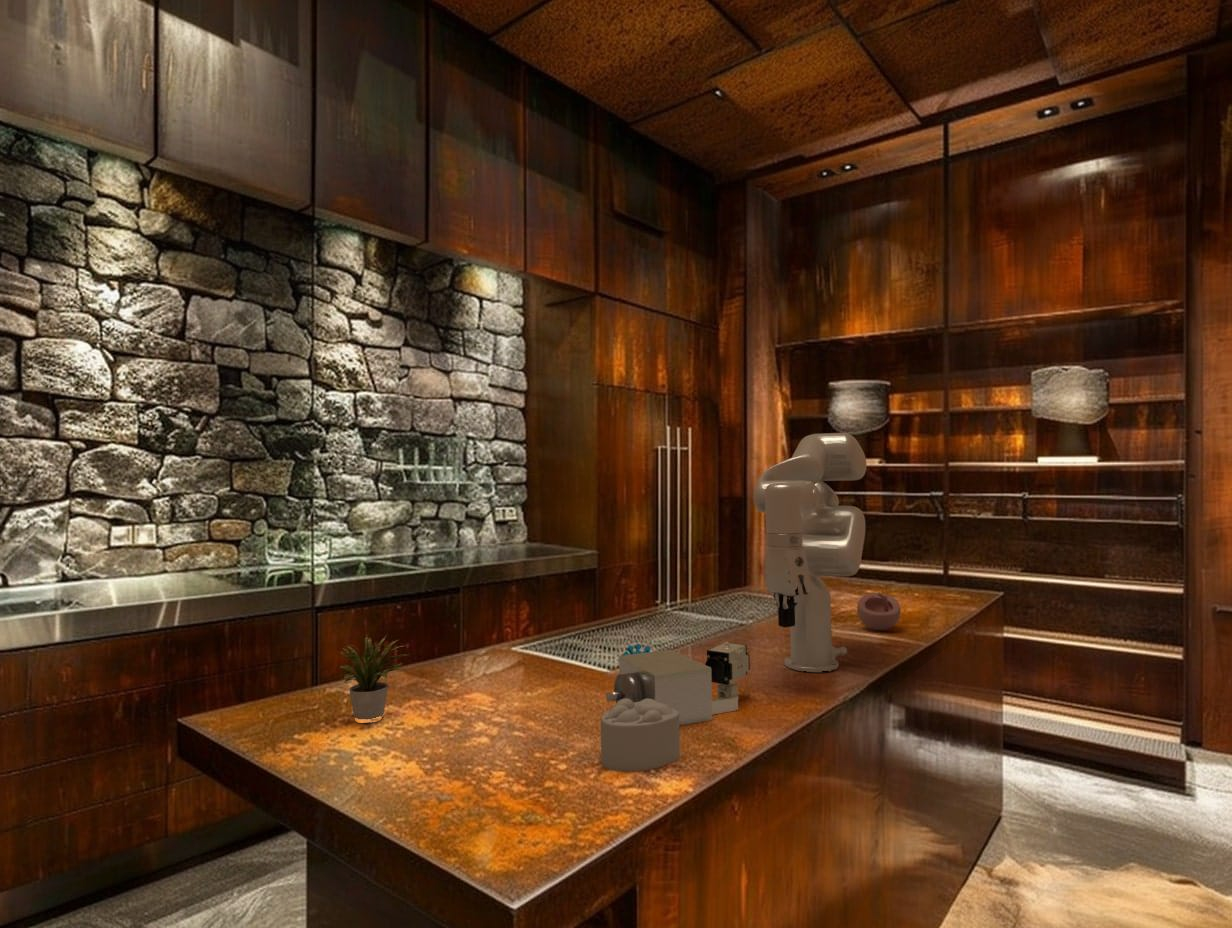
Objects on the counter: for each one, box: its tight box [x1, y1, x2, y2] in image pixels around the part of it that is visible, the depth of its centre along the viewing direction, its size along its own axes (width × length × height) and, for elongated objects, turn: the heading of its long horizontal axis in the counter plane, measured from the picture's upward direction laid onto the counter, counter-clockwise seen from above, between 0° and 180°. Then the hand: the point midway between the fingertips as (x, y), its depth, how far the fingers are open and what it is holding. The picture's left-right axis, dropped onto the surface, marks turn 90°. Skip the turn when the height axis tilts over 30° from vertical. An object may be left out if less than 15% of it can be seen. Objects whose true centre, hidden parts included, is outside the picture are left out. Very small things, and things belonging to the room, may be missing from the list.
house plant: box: [335, 633, 411, 719], centre depth 135 cm, size 14×14×16 cm
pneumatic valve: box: [704, 641, 751, 700], centre depth 144 cm, size 6×12×12 cm, turn 145°
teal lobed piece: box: [621, 643, 652, 656], centre depth 162 cm, size 11×6×10 cm
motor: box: [605, 649, 739, 727], centre depth 138 cm, size 26×16×10 cm, turn 114°
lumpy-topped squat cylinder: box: [600, 698, 681, 773], centre depth 116 cm, size 10×13×9 cm
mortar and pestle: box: [857, 592, 901, 632], centre depth 209 cm, size 12×12×11 cm
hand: (786, 625), depth 151 cm, fingers closed
